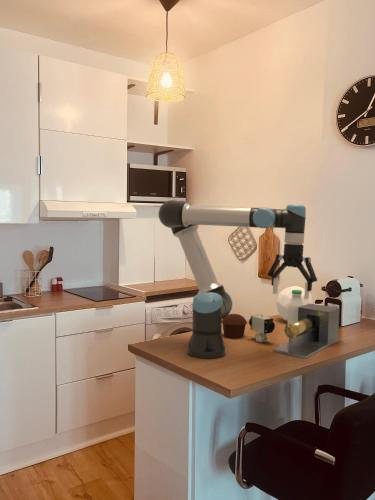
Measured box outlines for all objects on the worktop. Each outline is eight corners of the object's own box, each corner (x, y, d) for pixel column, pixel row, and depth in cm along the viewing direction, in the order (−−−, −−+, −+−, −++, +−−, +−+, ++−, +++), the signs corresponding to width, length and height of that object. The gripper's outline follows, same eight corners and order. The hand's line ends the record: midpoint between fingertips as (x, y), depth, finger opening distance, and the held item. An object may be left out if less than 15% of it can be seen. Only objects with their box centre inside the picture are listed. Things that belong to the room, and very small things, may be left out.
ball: (298, 337, 228) (297, 311, 216) (269, 317, 242) (267, 291, 229) (322, 316, 235) (322, 290, 223) (293, 298, 249) (292, 272, 236)
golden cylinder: (284, 336, 178) (284, 322, 178) (300, 329, 190) (300, 316, 189) (297, 339, 174) (297, 325, 174) (313, 332, 186) (313, 318, 185)
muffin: (218, 337, 200) (218, 315, 199) (224, 331, 210) (224, 311, 209) (244, 340, 196) (244, 318, 195) (249, 334, 206) (249, 313, 205)
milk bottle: (303, 333, 209) (304, 291, 207) (286, 332, 211) (287, 290, 210) (304, 330, 216) (305, 289, 215) (288, 328, 219) (289, 288, 217)
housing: (273, 351, 180) (274, 315, 179) (308, 335, 206) (309, 303, 205) (305, 358, 171) (306, 320, 170) (338, 340, 198) (339, 307, 196)
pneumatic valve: (267, 345, 188) (267, 317, 188) (248, 339, 198) (248, 312, 197) (276, 343, 192) (276, 316, 191) (257, 337, 201) (257, 311, 200)
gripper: (328, 246, 171) (324, 300, 173) (270, 241, 186) (266, 290, 188) (320, 246, 165) (316, 302, 167) (261, 241, 180) (258, 292, 182)
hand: (290, 296), depth 178 cm, fingers open, 13 cm apart
